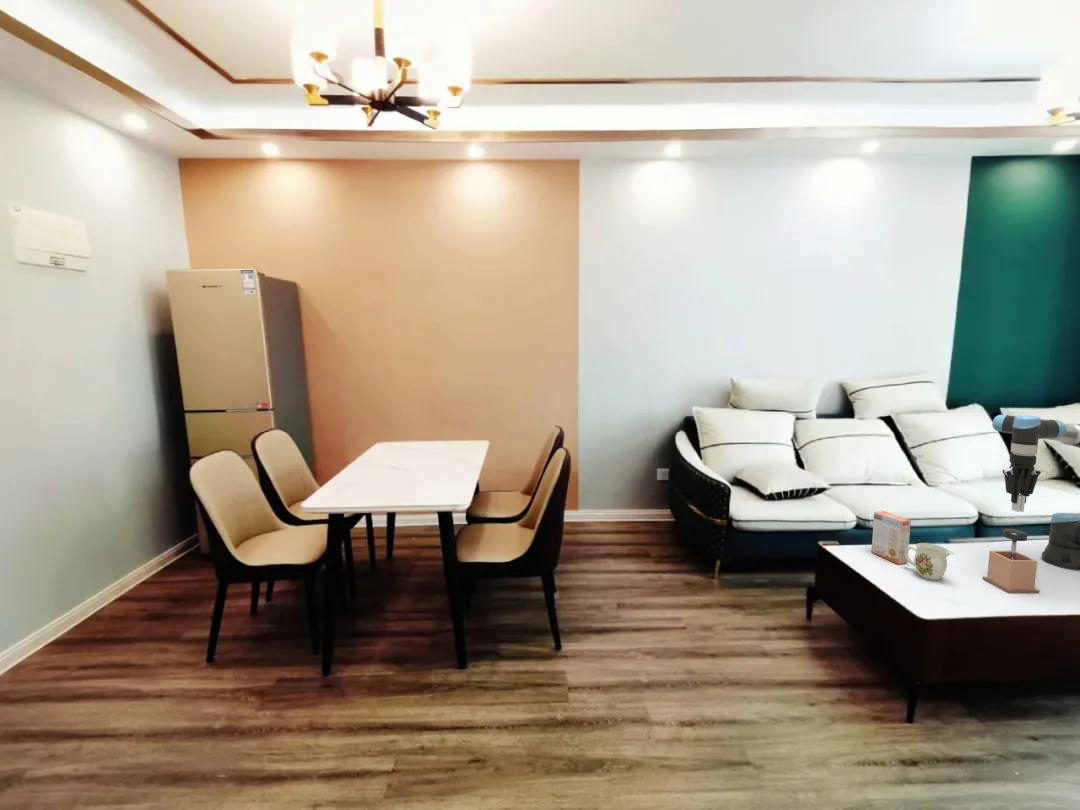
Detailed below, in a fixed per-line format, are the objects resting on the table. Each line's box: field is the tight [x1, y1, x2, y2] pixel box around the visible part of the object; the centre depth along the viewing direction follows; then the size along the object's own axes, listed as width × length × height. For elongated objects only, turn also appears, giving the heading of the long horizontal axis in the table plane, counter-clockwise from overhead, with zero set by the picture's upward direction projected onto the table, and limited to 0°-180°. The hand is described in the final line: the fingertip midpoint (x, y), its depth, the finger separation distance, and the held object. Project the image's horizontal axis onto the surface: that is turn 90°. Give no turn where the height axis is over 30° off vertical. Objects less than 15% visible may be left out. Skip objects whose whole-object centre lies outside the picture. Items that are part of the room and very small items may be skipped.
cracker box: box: [871, 510, 912, 565], centre depth 228 cm, size 14×6×21 cm, turn 12°
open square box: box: [982, 550, 1040, 594], centre depth 200 cm, size 12×12×13 cm
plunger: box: [1002, 528, 1028, 560], centre depth 199 cm, size 8×8×15 cm
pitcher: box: [905, 542, 955, 581], centre depth 210 cm, size 11×18×14 cm, turn 25°
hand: (1017, 510), depth 197 cm, fingers closed
